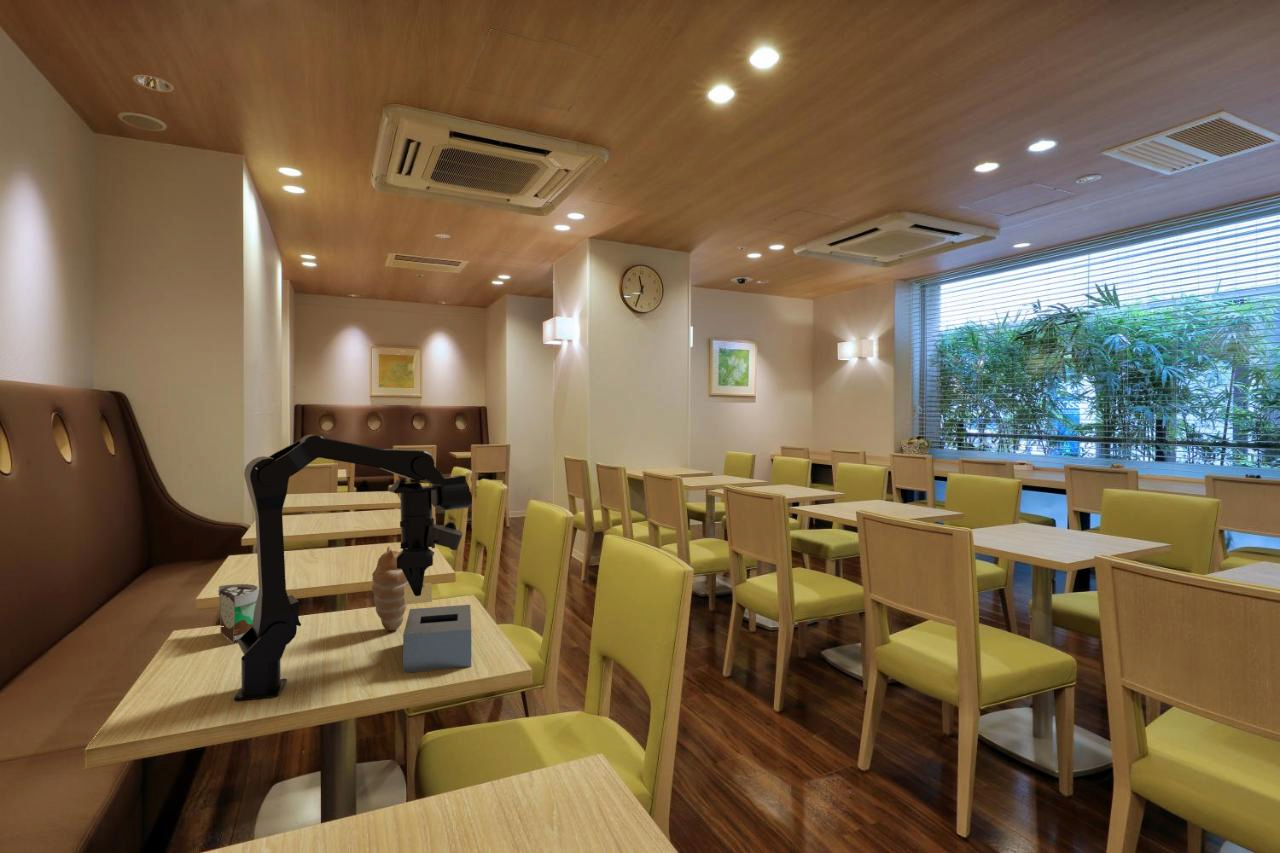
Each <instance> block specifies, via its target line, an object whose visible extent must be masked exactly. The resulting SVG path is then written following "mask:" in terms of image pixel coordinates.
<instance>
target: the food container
mask: <svg viewBox="0 0 1280 853" xmlns="http://www.w3.org/2000/svg"><path fill="white" fill-rule="evenodd" d="M258 593H259V586H257V585H255V584H249V583H234V584H225V585H219V586H218V596H219V599H218V600H219V621H220V625H219V626H224V627H220V634H221V633H222V634H223V635H224V636H225V637H224V636H223V635H222V634H221V635H222V636H223V637H224V638H226V639H227V638H228V639H227V640H228V641H229V640H230V641H231V642H230V641H229V642H230V643H231V644H233V645H235V643H236V644H238V640H239V638H240V637H241V636H242V635H243V634H244V633H245V632H246V631H247V630H248V629H249V628H250V627H251V626H252V623H253V616H254V609H255V604H256V601H257V597H258Z"/></svg>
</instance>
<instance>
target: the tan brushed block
mask: <svg viewBox="0 0 1280 853" xmlns="http://www.w3.org/2000/svg"><path fill="white" fill-rule="evenodd" d="M432 588H433V586H432V582H425V583H424V582H423V585H422V591H421V595H420V596H415V595H414V593H413V591H412V589H411V587H410V585H405V587H404V600H405V605H406V606H407V605H416V604H425V603H432V602H433V596H432V594H433V591H432Z"/></svg>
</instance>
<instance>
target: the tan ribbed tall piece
mask: <svg viewBox="0 0 1280 853" xmlns="http://www.w3.org/2000/svg"><path fill="white" fill-rule="evenodd" d="M400 552H401V551H397V550H392V548H391V547H390V545H388V546H387V548H386V552H384V553H383V554H381V555H380V557H379V558H378V561H376V562H377V565H376V567H375V569H374V571H373V572H372V575H371V576H372V582H373V584H372V586H371V591H372V593H373V604H374V606H375V612H376V614H377V616H378V617H379V618H380V621H381V624H382V627H383V629H385V630H386V631H390V632H391V631H396V630H397V629H399V628H400V627H401V626H402V624H403V621H404V614H405V611H406V609H407V605H405V600H404V587H405V585H409V583H408V581H407V579H406V577H405V575H404V573H403V571H402V569H398V568H397V556H398V554H399V553H400Z"/></svg>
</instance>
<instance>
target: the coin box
mask: <svg viewBox="0 0 1280 853" xmlns="http://www.w3.org/2000/svg"><path fill="white" fill-rule="evenodd" d="M471 611H472V610H471V604H463V605H459V604H458V605H448V606H447V605H446V606H434V607H419V608H409V611H408V616H407V620H406V623H405V627H404V632H403V635H402V636H403V638H402V646H403V647H402V650H403V652H402V661H403V663H402V666H403V667H402V670H403V671H402V673H403V674H407V673H416V672H417V673H418V672H428V671H438V670H448V669H450V670H451V669H458V668H468V667H472V616H471V614H472V613H471Z"/></svg>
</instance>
